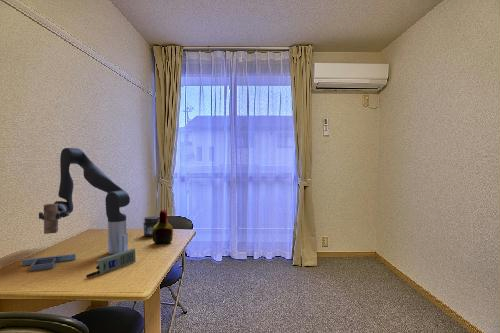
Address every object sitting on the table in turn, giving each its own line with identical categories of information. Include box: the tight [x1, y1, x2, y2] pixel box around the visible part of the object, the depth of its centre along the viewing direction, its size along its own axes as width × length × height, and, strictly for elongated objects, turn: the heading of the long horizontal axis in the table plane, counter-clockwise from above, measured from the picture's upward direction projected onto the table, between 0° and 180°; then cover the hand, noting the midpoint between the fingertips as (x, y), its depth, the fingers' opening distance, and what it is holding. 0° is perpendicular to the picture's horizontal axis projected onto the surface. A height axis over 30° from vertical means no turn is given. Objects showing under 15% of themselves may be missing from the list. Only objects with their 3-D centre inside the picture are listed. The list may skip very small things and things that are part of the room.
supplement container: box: [143, 215, 159, 238], centre depth 200 cm, size 10×10×12 cm
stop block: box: [43, 203, 59, 235], centre depth 152 cm, size 5×5×14 cm
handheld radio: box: [85, 248, 137, 279], centre depth 139 cm, size 7×3×25 cm
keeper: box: [21, 253, 77, 272], centre depth 144 cm, size 22×12×2 cm, turn 113°
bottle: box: [152, 209, 174, 245], centre depth 182 cm, size 12×6×20 cm, turn 98°
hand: (49, 217), depth 149 cm, fingers closed on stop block, 5 cm apart
